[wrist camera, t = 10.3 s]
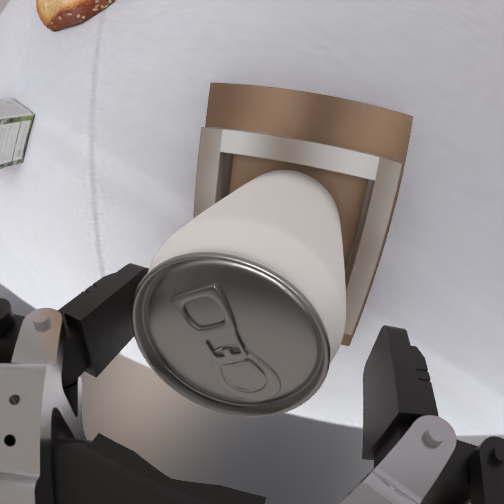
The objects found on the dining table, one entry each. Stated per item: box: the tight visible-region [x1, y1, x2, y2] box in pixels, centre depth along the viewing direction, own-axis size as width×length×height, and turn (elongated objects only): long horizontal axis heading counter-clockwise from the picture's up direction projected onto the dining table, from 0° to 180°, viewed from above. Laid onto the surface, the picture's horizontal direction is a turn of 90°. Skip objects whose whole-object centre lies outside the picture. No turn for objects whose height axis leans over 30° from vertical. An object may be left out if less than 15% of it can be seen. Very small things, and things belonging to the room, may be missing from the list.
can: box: [131, 170, 346, 417], centre depth 13 cm, size 6×6×12 cm
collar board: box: [193, 83, 413, 346], centre depth 18 cm, size 12×16×4 cm
